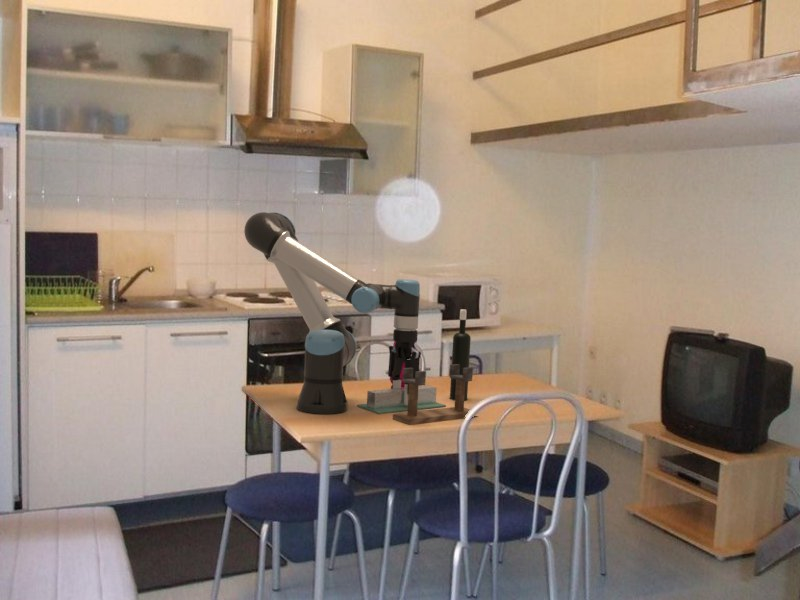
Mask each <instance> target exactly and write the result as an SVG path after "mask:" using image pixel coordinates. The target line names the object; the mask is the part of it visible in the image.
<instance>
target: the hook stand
mask: <svg viewBox="0 0 800 600" xmlns="http://www.w3.org/2000/svg"><path fill="white" fill-rule="evenodd" d="M473 372H474V368H473V367H470V366H469V368H463V375H460V374H459V373H460V365H459V364H454V365H452V364H450V367H449V379H451V378H453V379H456V391H455V400H454V406H452V407H441V408H432V409H423V410H417V404H418V386H426V376H427V372H426V371H425V370H419V371H417V372H416V374H415V379H414V378H413V368H403V381H402V382H405V383H409V392H408V411H405V412H396V413H392V420H395V421H397V422H399V423H402V424H406V425H409V426H410V425H420V424H426V423H434V422H435V423H436V422H443V421H451V420H452V421H453V420H460V419H465V418H464V417H465V415H466V414H467V413H468V411H469V410H470V408H468V407H467V408H466V407H465V400H464V396H465V382H467V381H468V382H472V381H473V374H474V373H473Z"/></svg>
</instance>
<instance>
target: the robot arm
mask: <svg viewBox="0 0 800 600" xmlns="http://www.w3.org/2000/svg"><path fill="white" fill-rule="evenodd" d="M243 232H244V237H245V240H246V241H247V243H248V245H250V246H251V248H254V249H255V250H257V251H259V252H261V253H263V255H264V257H265V260H266V261H267V262H269V263H273V264H274V266H275V268H276V270H277V271H278V273H279V275H280V277H281V280H282V281H283V282H284V284H285V286H286V288H287V290H288V292H289V293H290V295H291V297H292V299H293V301H294V303H295V305H296V307H297V309H298V311H299V312H300V314H301V316H302V318H303V320H304V322H305V324H306V325H307V328H308V329H309V332H308V333H307V334H306V337H305V342H304V348H305V349H304V371H303V384H302V388H301V390H300V392H299V396H298V398H297V402H296V409H297V410H299V411H301V412H305V413H310V414H317V415H318V414H320V415H325V414H326V415H328V414H329V415H330V414H331V415H332V414H339V413H344V412H346V411H348V401H347V400H348V399H347V396H346V393H345V390H344V386H343V377H344V375H343V373H344V367H345V366H346V365H349V363H351V362H352V360H353V359H354V357H355V355H356V353H357V341H356V338H355V336H354V335H353V334H352V333H351V332H350V331H348V330H347V329H346V327H345V326H344V324H343V322H342V320H341V319H340V318H337V317H335V316H334V315H333V313H332V312H331V310H330V307H329V306H328V304H327V302H326V301H325V299H324V296H323V294H322V293H321V291H320V288H319V287H318V285H317V284H319V285H320V286H322V287H323V288H325V289H327V290H328V291H329V292H331V293H333V294H335V295H337V296H338V297H340V298H341V299H343V300H345V302H347V303H349V304H351V305H352V307H353V308H354V310H356V311H357V312H360V313H364V314H369V313H372V312H373V311H375V310H377V309H382V310H383V309H384V310H386V309H387V310H394V315H393V328H395V329H394V330H393V337H392V339H393V340H392V341H393V342H394V341H395V342H396V343H395V346H393V345H389V346H388V351H389V356H388V357H389V358H388V359H389V360H388V370H387V371H388V373H387V376H388V377H389V378H390V377H391V379H392V383H391V386H392V389H394V388H401V380H398V379H401V377H400V375H401V370H402V366H403V362H404V364H405V368H413V378H414V379H415V374H416V372H417V371H420V358H421V354H422V353H421V351H419V350H416V347H415V343H417V342H418V330H417V329H418V328H419V327H418V326H419V312H420V311H419V310H420V299H421V298H420V297H421V293H420V290H421V289H420V288H421V286H420V282H419V281H418V280H417V279H402V278H401V279H396V281H395V284H393V285H392V284H391V285H389V284H378V283H365V281H362V280H361V279H359V278H358V277H356V276H354V275H353V274H352V273H350V272H348V271H346V270H345V269H343V268H342V267H340V266H338V265H337V264H335V263H334V262H332V261H330V260H329V259H327V258H326V257H324V256H322V255H321V254H319V253H318V252H317V251H314V250H313V249H311V248H310V247H308V246H306V245H304V243H302V242H300V241H299V240H298V238H297V235H296V227H295V225H294V223H293V222H292V220H291V219H290V218H289V217H288V216H286V215H284V214H282V213H281V212H280V213H279V212H257V213H255V214H253V215H252V216H250V217H249V218H248V219H247V221H246V223H245V226H244V230H243ZM392 372H393V373H392ZM408 392H409V383H405V390H404V405H408Z"/></svg>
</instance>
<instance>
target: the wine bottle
mask: <svg viewBox="0 0 800 600" xmlns="http://www.w3.org/2000/svg"><path fill="white" fill-rule="evenodd" d="M466 325H467V309H466V308H465V309H462V308H461V309H460V311H459V331H458V332H455V333H454V335H453V337H452V353H451V365H454V364H459V365H460V373H459V374H460V375H463V368H469V367H470V358H471V357H470V356H471V340H472V339H471V335H470V334H469V333H466ZM468 386H469V381H467V382H465V396H464V401H468V391H469V387H468ZM449 390H450V393H449V399H450V400H452V401H455V391H456V379H453V378H450V387H449Z"/></svg>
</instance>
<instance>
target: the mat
mask: <svg viewBox="0 0 800 600" xmlns="http://www.w3.org/2000/svg"><path fill="white" fill-rule="evenodd" d="M356 407H357V408H361V409H364V410H366V411H370V412H371V413H375V414H378V415H382V414H395V413H404V412H407V411H408V406H403V407H393V408H384V409H371V408H369V407H367V403H360V404H356ZM440 408H447V405H446V404H445V403H444V404H443V403H440V402H437V401H436V403H431V404H421V405H417V411H422V410H431V409H440Z"/></svg>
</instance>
